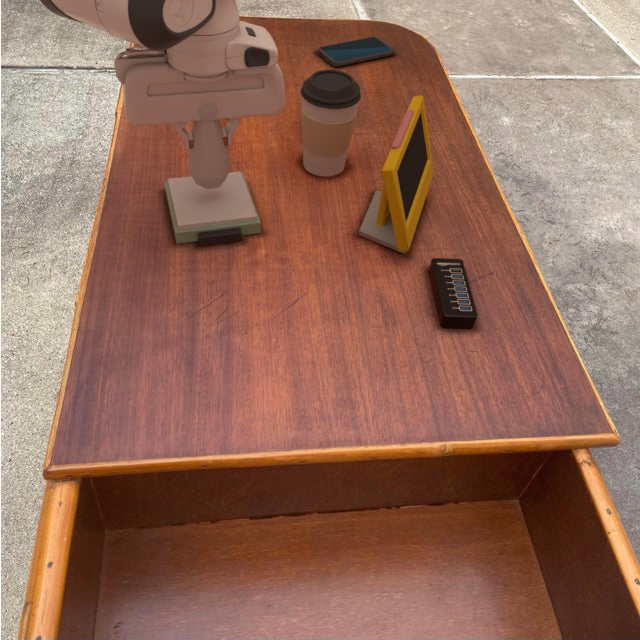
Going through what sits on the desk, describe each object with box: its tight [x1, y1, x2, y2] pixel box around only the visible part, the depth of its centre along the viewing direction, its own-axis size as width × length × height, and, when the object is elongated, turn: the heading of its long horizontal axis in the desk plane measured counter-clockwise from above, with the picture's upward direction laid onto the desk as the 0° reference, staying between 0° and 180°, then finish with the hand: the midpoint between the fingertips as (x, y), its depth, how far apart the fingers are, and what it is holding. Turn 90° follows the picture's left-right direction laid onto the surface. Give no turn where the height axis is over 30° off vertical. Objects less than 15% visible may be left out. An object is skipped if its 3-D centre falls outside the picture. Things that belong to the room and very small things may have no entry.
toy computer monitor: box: [358, 94, 435, 255], centre depth 91 cm, size 20×8×16 cm, turn 163°
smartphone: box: [317, 36, 395, 68], centre depth 133 cm, size 8×15×1 cm, turn 121°
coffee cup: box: [300, 68, 362, 178], centre depth 100 cm, size 9×9×15 cm
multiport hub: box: [427, 257, 479, 330], centre depth 86 cm, size 4×11×2 cm, turn 2°
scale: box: [163, 171, 262, 247], centre depth 93 cm, size 12×13×3 cm
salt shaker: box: [187, 103, 232, 189], centre depth 86 cm, size 6×6×13 cm
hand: (208, 145), depth 86 cm, fingers closed on salt shaker, 3 cm apart
